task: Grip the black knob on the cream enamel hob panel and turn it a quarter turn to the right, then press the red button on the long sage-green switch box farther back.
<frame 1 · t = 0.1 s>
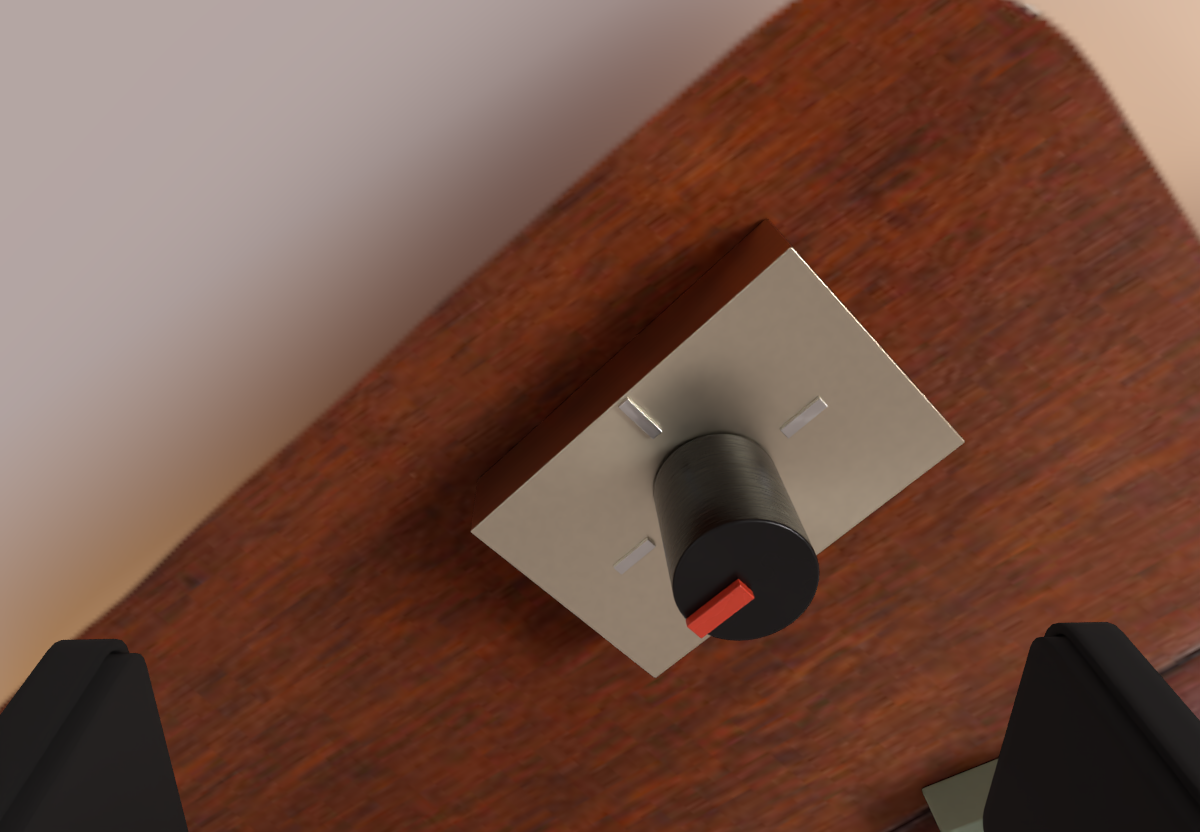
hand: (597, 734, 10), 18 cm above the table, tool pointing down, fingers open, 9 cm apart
hob knob: (731, 535, 24), point 5 cm above the table, hinge at 0.0°
hob panel: (700, 439, 29), on the table
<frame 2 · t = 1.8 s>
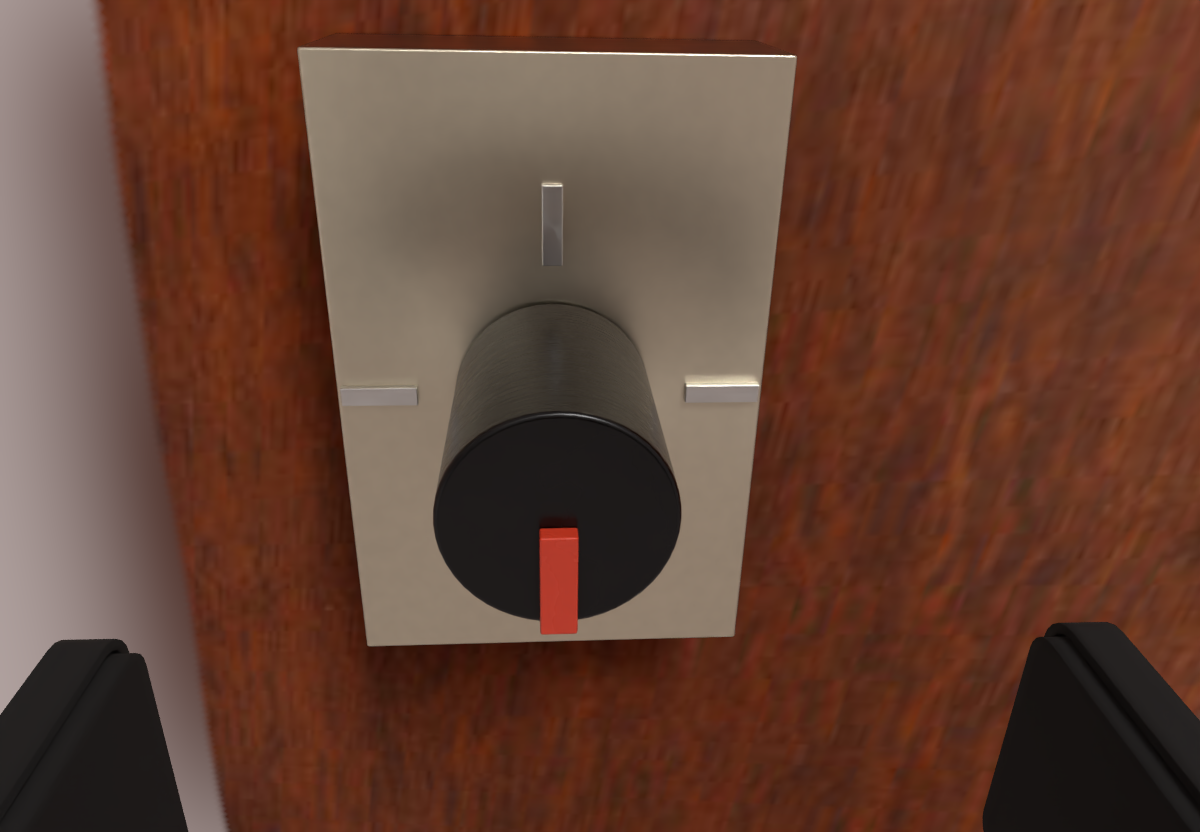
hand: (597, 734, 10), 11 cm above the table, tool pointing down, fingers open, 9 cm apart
hob knob: (555, 454, 15), point 5 cm above the table, hinge at 0.0°
hob panel: (550, 334, 20), on the table
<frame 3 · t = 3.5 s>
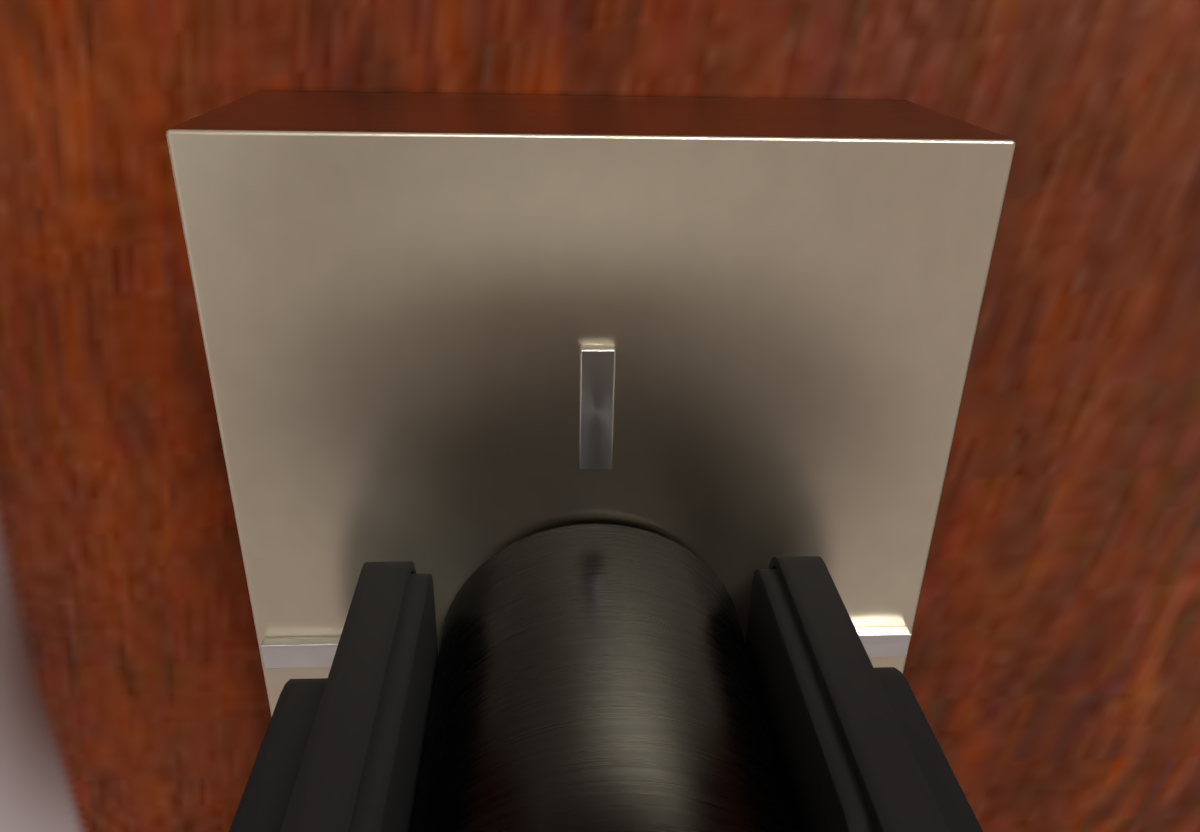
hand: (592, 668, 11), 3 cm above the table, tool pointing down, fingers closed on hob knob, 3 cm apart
hob knob: (602, 808, 9), point 5 cm above the table, hinge at 0.2°, touching gripper
hob panel: (582, 512, 14), on the table
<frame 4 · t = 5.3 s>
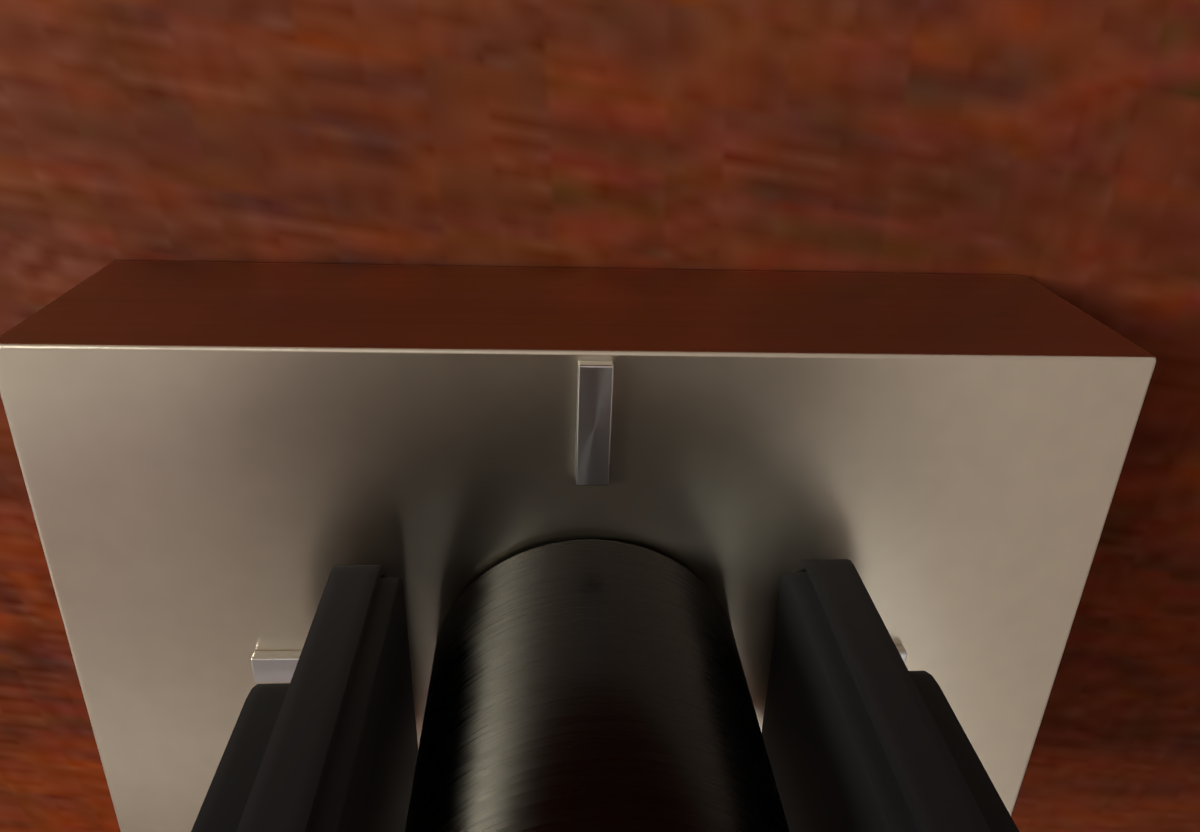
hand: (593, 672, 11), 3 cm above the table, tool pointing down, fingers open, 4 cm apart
hob knob: (595, 829, 9), point 5 cm above the table, hinge at -91.5°
hob panel: (577, 524, 14), on the table
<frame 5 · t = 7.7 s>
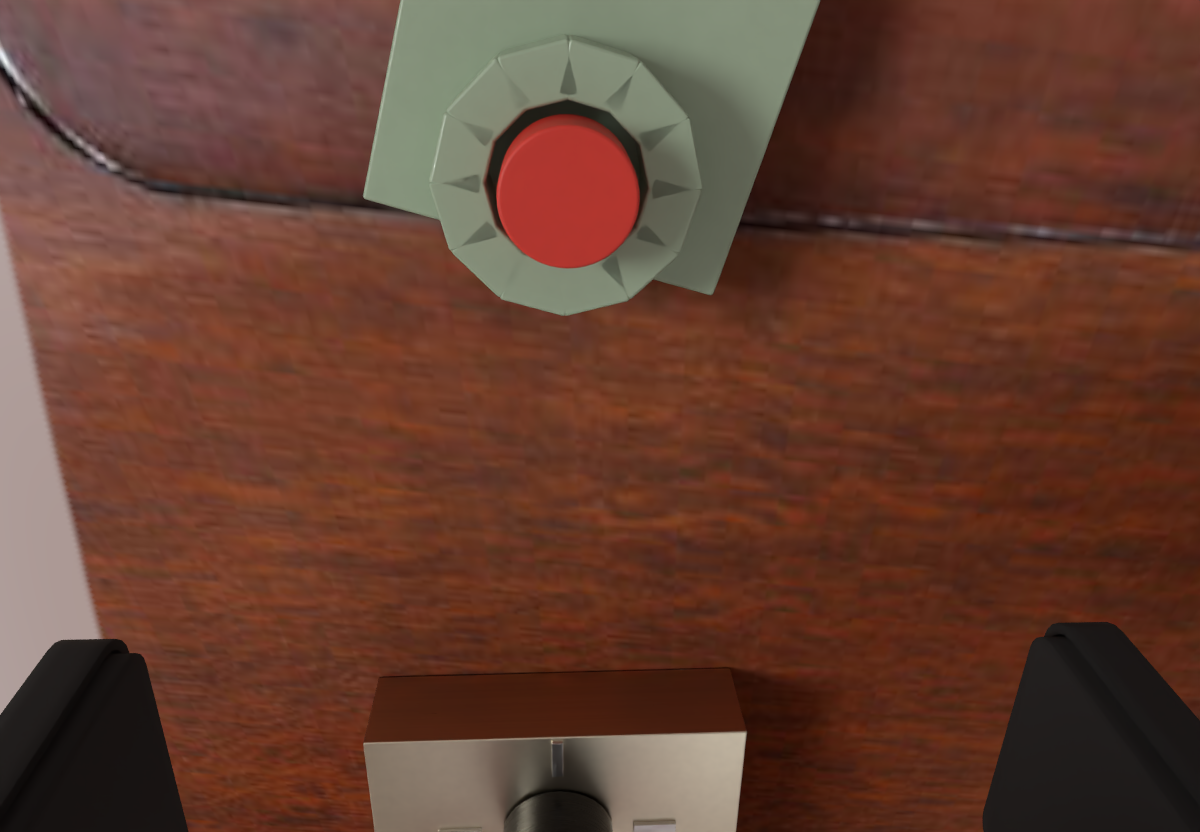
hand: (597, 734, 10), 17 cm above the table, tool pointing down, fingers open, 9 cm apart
start button: (567, 190, 20), point 4 cm above the table, slide at 0.1 cm
hob panel: (557, 758, 33), on the table
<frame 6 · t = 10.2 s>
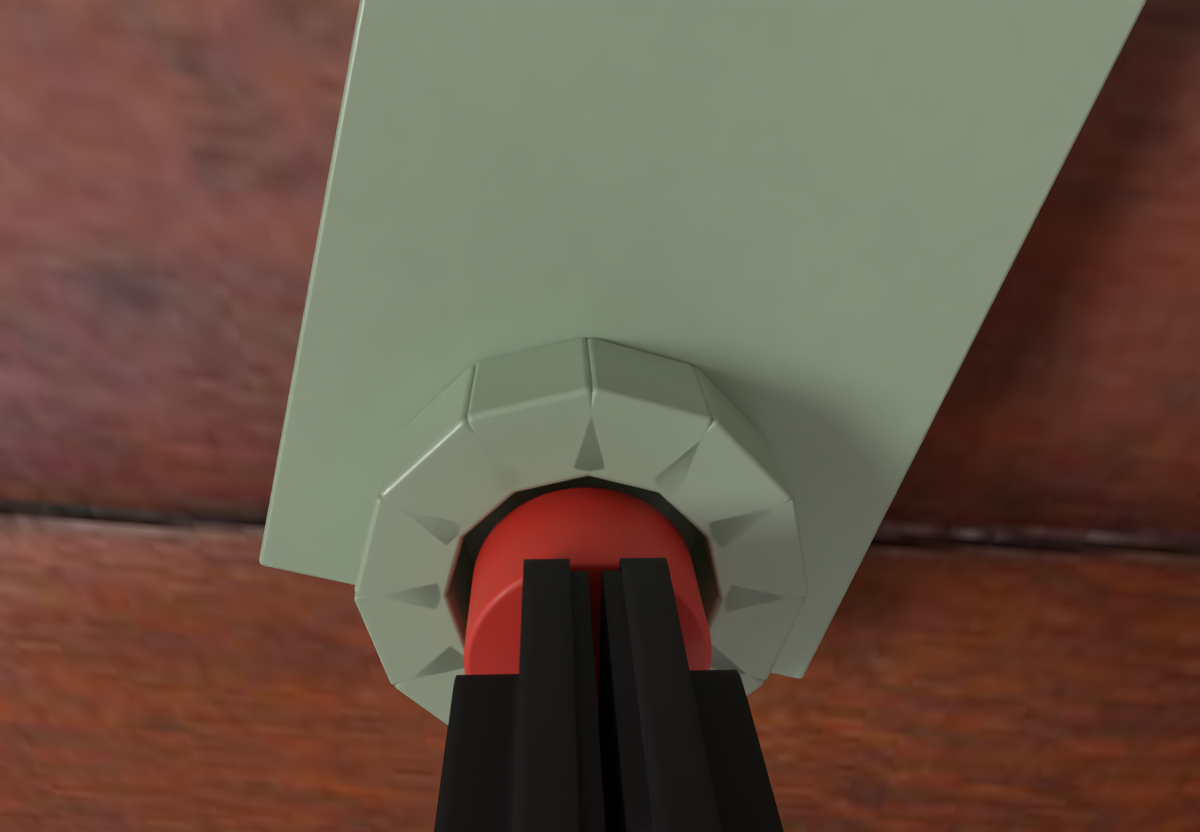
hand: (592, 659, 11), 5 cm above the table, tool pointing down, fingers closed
switch box: (692, 106, 13), on the table
start button: (585, 619, 12), point 4 cm above the table, slide at 0.1 cm, touching gripper
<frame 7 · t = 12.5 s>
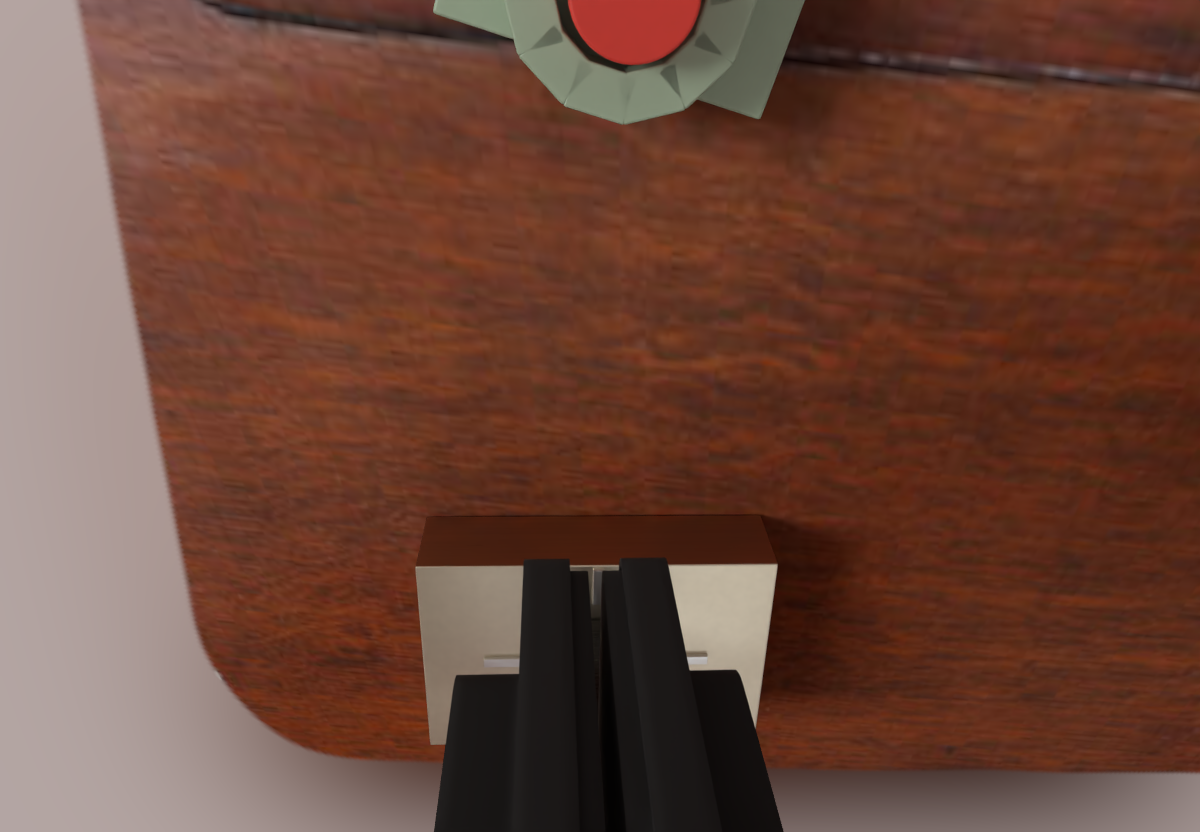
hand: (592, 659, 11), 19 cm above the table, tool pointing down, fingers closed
hob knob: (599, 710, 30), point 5 cm above the table, hinge at -91.6°
hob panel: (592, 604, 35), on the table
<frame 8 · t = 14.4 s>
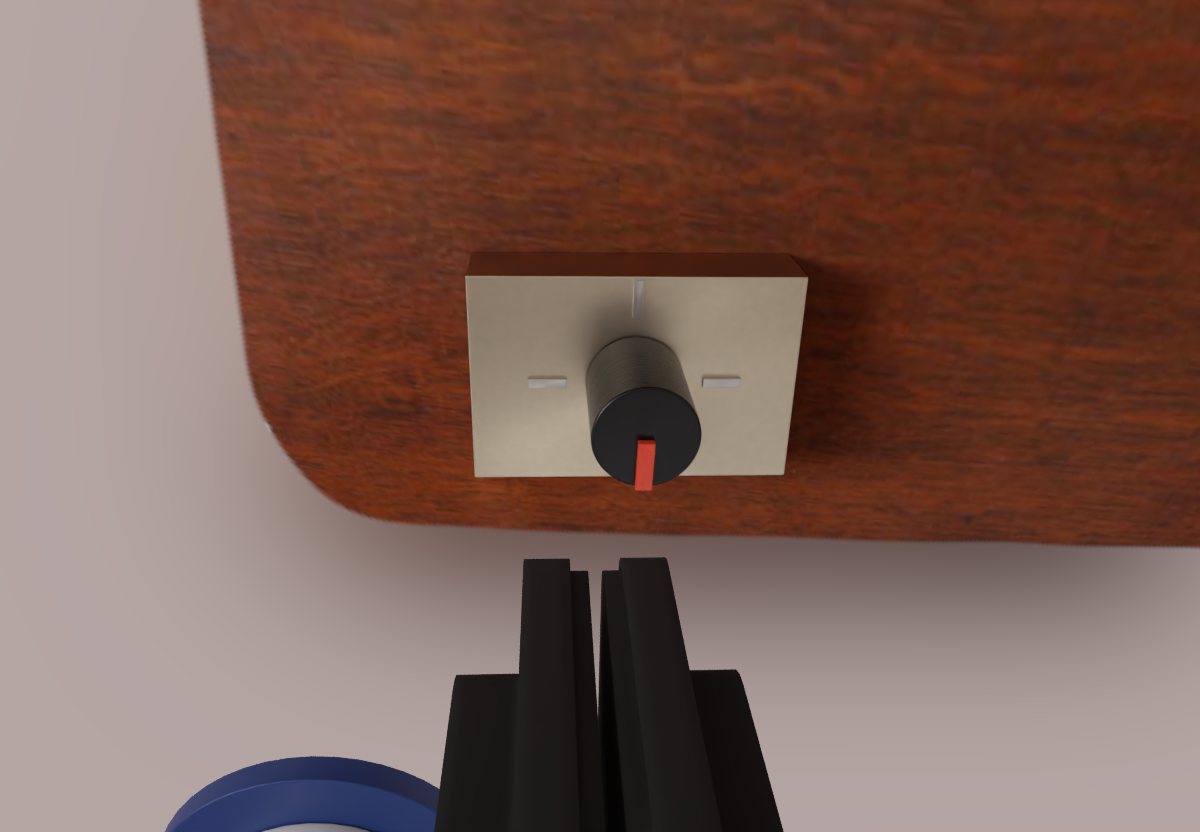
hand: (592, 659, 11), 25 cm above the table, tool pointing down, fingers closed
hob knob: (640, 410, 31), point 5 cm above the table, hinge at -91.6°
hob panel: (628, 351, 36), on the table
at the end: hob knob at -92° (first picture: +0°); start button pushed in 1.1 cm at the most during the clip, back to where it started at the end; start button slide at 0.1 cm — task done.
